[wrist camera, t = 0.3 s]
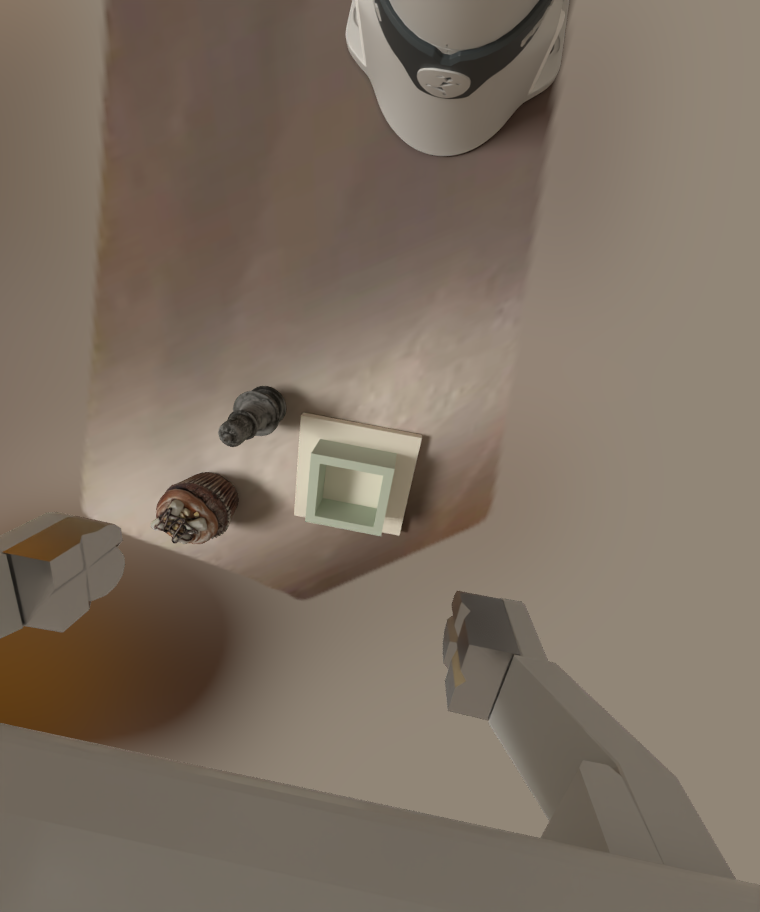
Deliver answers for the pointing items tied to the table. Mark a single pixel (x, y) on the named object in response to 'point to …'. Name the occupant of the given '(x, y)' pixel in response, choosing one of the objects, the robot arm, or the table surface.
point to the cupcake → (196, 508)
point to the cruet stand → (354, 474)
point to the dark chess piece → (253, 416)
